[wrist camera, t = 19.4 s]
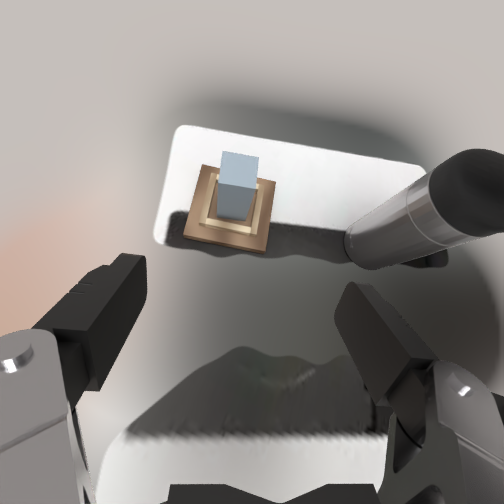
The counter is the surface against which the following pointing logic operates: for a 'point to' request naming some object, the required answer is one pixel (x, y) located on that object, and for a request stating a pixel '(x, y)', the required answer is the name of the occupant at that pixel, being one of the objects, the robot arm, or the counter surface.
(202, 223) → the base board
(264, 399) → the counter surface
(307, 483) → the counter surface
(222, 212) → the post block
